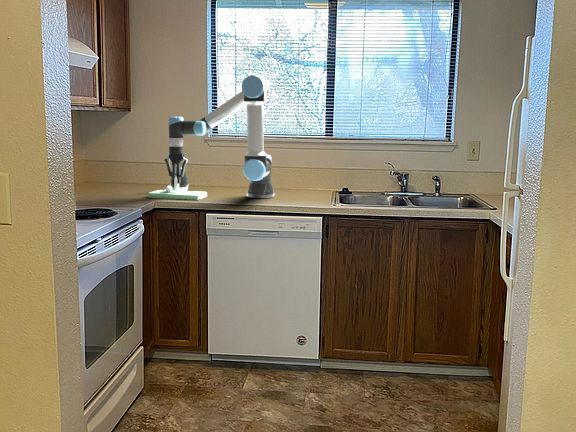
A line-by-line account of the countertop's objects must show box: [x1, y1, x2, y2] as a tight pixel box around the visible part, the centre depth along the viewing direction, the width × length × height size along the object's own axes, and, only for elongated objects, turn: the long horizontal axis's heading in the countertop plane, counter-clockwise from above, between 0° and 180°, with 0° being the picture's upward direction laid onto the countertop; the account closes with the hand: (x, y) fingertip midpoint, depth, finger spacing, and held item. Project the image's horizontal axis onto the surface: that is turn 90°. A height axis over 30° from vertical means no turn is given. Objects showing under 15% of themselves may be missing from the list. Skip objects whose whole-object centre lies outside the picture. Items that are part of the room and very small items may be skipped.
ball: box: [165, 185, 172, 192], centre depth 320 cm, size 3×3×3 cm
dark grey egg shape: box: [169, 166, 190, 191], centre depth 336 cm, size 10×10×15 cm
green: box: [147, 189, 208, 201], centre depth 320 cm, size 28×14×2 cm, turn 78°
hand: (176, 189), depth 319 cm, fingers closed
